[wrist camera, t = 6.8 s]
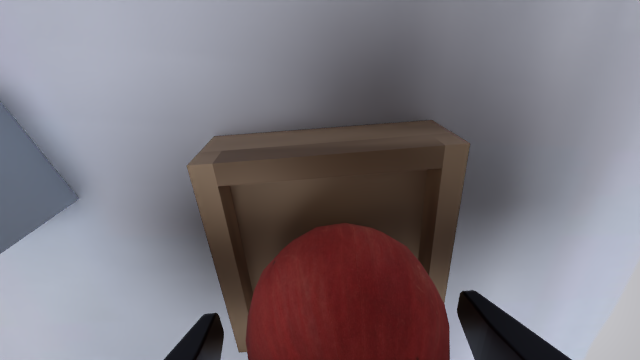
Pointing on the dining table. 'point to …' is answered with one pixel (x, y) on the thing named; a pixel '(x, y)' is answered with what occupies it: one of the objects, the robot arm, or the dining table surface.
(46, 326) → the dining table surface
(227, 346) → the dining table surface
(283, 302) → the onion
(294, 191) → the wooden square tray
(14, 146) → the slate cube
